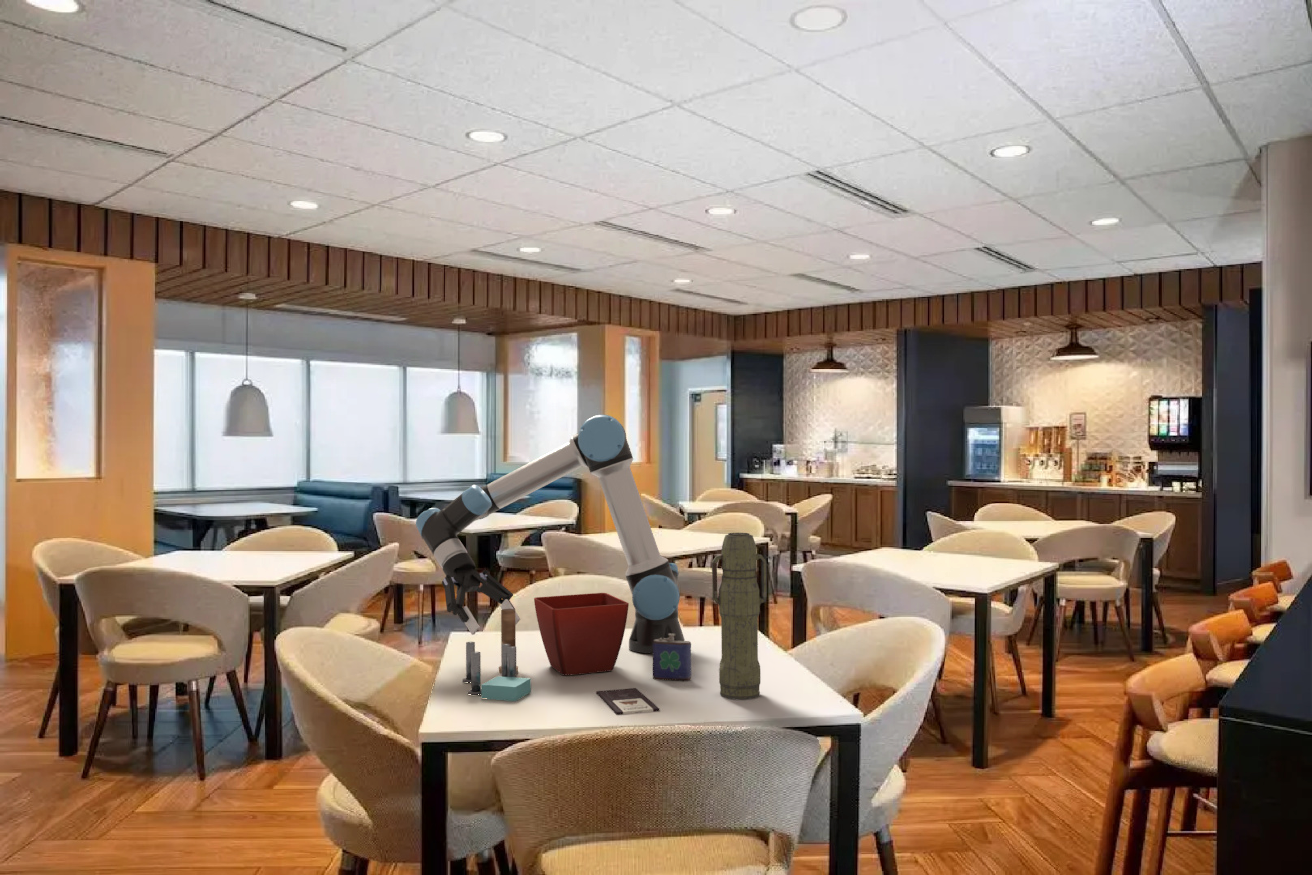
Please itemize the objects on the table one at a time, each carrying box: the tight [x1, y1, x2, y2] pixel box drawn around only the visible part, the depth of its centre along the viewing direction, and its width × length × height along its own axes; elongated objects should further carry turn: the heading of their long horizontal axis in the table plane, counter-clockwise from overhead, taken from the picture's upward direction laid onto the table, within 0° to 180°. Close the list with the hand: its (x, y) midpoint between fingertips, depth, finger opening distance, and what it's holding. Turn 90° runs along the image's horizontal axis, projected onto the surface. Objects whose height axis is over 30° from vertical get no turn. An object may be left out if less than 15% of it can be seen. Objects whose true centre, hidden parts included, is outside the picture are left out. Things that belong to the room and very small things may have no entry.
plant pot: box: [533, 592, 630, 677], centre depth 232 cm, size 19×19×17 cm
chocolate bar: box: [595, 687, 660, 716], centre depth 201 cm, size 9×1×18 cm
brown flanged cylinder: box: [498, 608, 519, 675], centre depth 229 cm, size 5×5×15 cm
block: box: [480, 675, 532, 702], centre depth 207 cm, size 8×8×3 cm
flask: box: [652, 633, 692, 682], centre depth 221 cm, size 9×3×11 cm, turn 74°
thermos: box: [711, 532, 768, 701], centre depth 207 cm, size 9×12×35 cm
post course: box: [462, 641, 517, 696], centre depth 213 cm, size 15×14×9 cm
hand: (496, 626), depth 231 cm, fingers open, 13 cm apart
